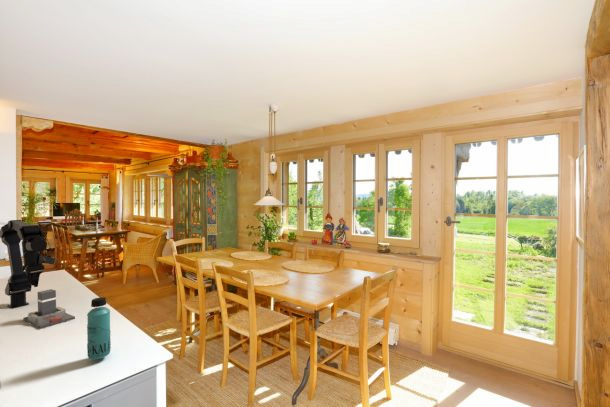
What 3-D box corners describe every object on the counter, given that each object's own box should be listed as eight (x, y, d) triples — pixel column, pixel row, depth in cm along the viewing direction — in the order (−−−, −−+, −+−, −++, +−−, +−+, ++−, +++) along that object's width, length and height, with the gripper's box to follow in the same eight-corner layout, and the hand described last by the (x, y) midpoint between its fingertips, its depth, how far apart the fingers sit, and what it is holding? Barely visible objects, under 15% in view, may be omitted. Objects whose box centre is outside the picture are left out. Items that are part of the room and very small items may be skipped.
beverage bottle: (94, 354, 104) (93, 295, 104) (115, 353, 104) (114, 294, 104) (82, 365, 97) (81, 302, 97) (104, 364, 98) (103, 301, 98)
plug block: (37, 317, 134) (37, 292, 134) (51, 313, 139) (51, 289, 138) (42, 319, 132) (41, 293, 132) (56, 315, 137) (55, 290, 137)
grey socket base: (23, 320, 134) (23, 313, 134) (56, 311, 144) (56, 304, 144) (40, 329, 125) (40, 321, 125) (74, 318, 135) (74, 312, 135)
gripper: (56, 249, 142) (60, 283, 141) (50, 249, 154) (53, 280, 154) (24, 253, 133) (28, 289, 133) (20, 253, 146) (23, 286, 146)
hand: (34, 286), depth 142 cm, fingers open, 9 cm apart
